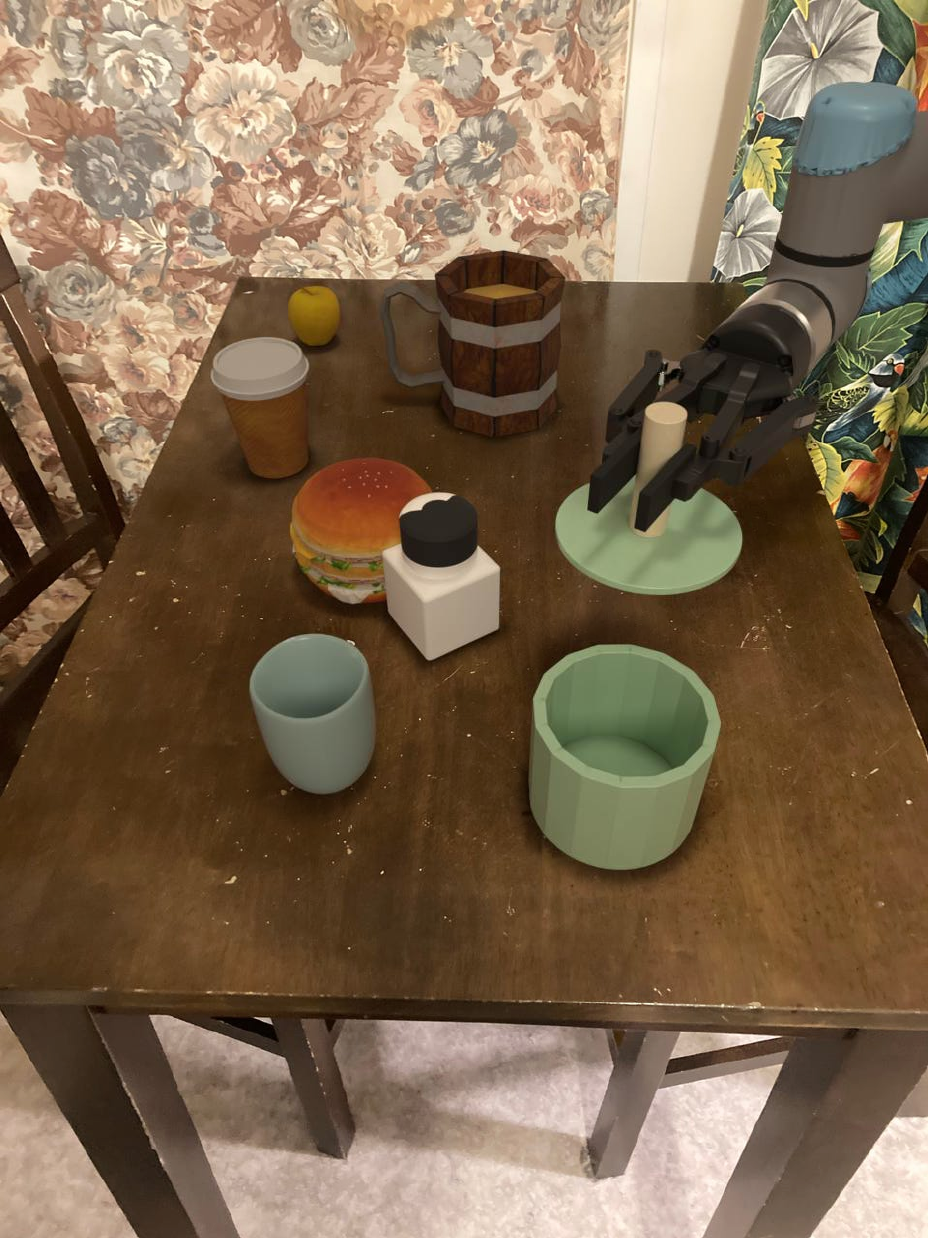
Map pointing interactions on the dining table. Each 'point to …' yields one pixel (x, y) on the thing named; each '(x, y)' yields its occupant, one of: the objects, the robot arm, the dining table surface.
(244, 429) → the disposable coffee cup
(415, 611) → the medicine bottle
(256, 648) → the dining table surface
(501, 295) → the mug
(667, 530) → the tin lid
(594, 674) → the tin
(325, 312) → the apple
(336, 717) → the cup
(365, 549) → the burger
